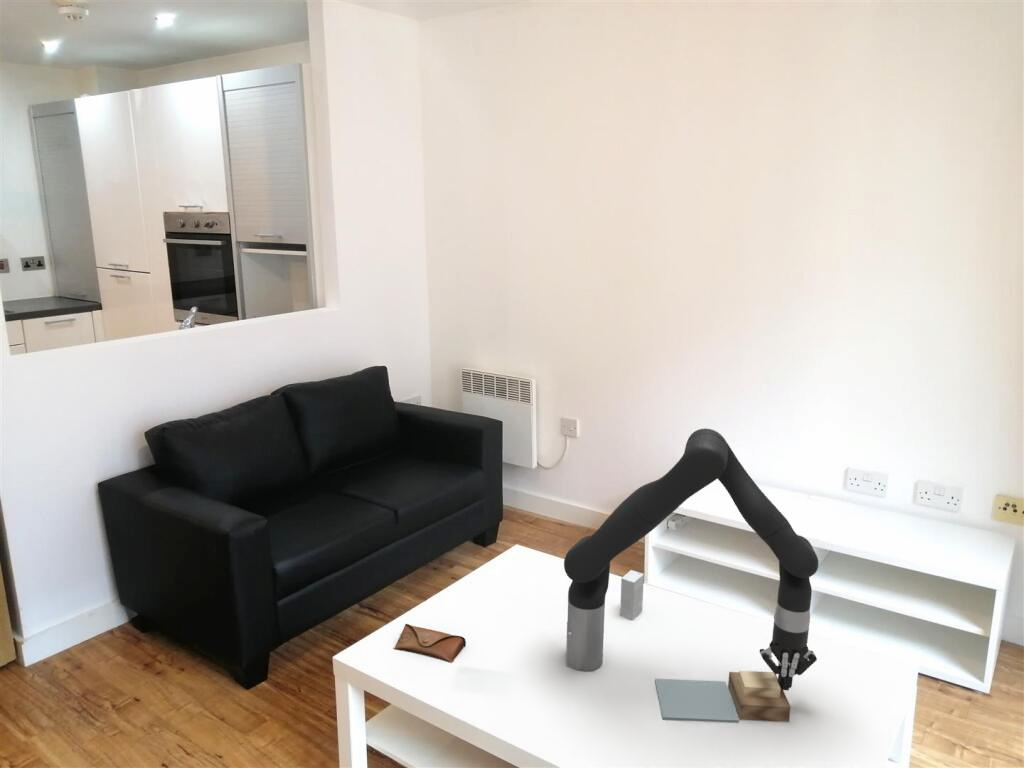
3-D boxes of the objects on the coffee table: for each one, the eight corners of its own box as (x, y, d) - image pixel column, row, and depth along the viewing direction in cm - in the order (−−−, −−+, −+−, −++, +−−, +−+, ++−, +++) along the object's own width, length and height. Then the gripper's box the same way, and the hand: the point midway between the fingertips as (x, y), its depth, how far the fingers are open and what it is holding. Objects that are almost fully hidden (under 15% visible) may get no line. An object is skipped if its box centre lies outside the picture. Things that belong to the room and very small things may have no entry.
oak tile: (744, 696, 172) (745, 687, 172) (738, 679, 178) (739, 670, 177) (779, 697, 172) (780, 688, 171) (772, 681, 178) (773, 672, 177)
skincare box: (629, 606, 217) (631, 569, 214) (642, 611, 214) (644, 573, 211) (619, 616, 212) (621, 577, 209) (632, 621, 210) (634, 582, 207)
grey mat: (662, 719, 170) (662, 717, 170) (654, 680, 184) (655, 678, 184) (738, 722, 169) (738, 720, 169) (725, 683, 183) (725, 681, 183)
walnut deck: (739, 719, 170) (741, 704, 169) (728, 686, 182) (729, 671, 181) (788, 722, 170) (790, 706, 169) (774, 688, 181) (775, 673, 180)
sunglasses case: (390, 649, 196) (396, 622, 198) (401, 648, 202) (406, 623, 204) (453, 663, 190) (458, 636, 192) (463, 662, 197) (467, 636, 198)
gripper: (766, 630, 167) (759, 697, 171) (827, 632, 166) (818, 699, 171) (757, 612, 174) (751, 676, 179) (815, 614, 174) (807, 679, 178)
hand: (784, 687), depth 175 cm, fingers closed
